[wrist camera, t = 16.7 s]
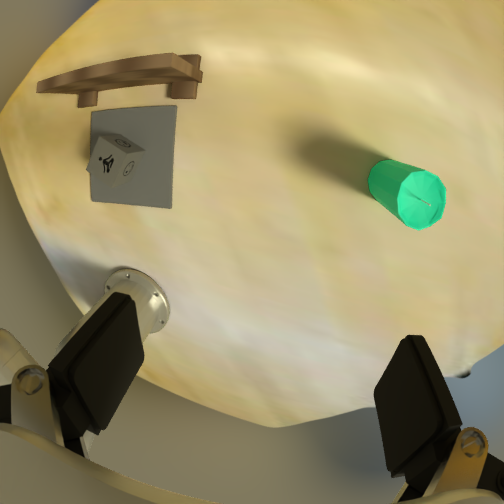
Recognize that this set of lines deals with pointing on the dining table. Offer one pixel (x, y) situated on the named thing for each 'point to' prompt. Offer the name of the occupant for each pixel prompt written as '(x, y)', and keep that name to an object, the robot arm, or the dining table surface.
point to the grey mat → (153, 161)
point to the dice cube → (115, 160)
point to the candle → (408, 193)
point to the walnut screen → (129, 77)
